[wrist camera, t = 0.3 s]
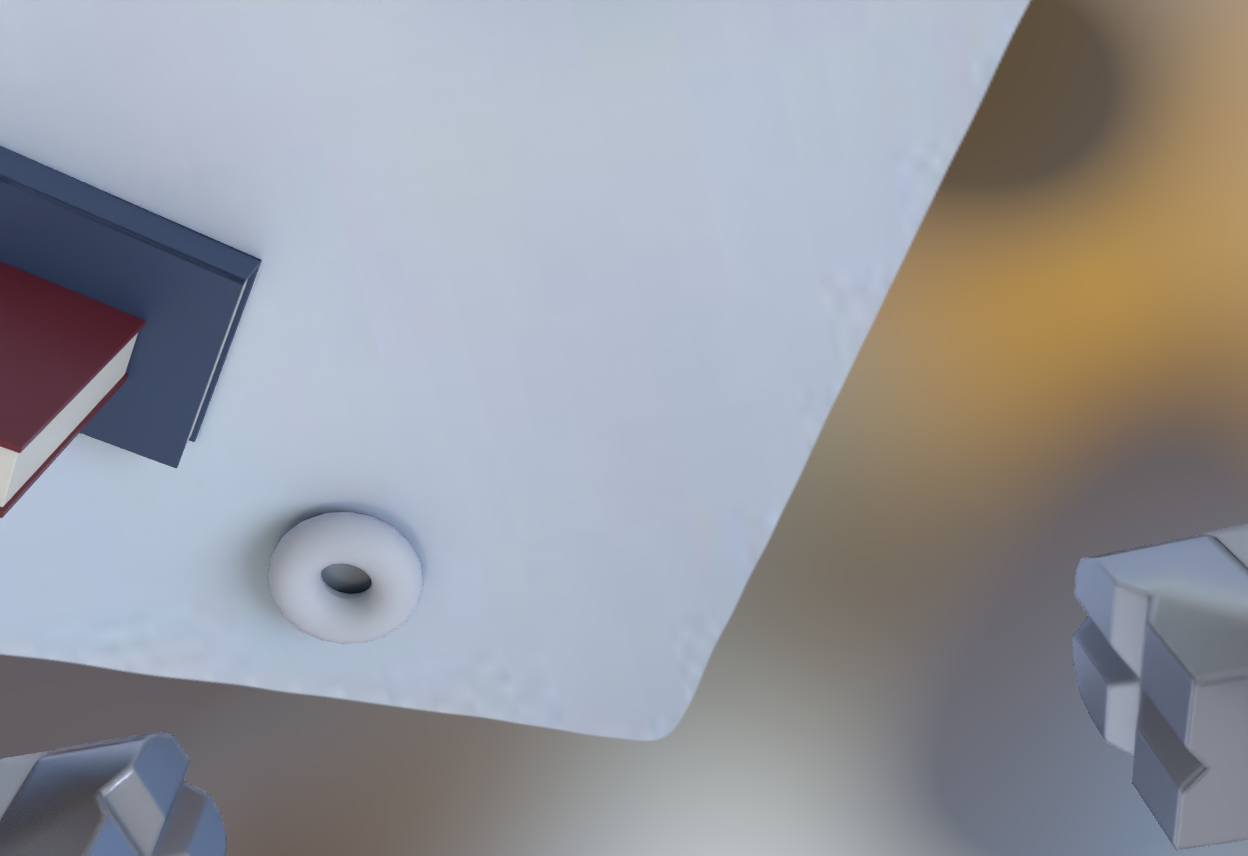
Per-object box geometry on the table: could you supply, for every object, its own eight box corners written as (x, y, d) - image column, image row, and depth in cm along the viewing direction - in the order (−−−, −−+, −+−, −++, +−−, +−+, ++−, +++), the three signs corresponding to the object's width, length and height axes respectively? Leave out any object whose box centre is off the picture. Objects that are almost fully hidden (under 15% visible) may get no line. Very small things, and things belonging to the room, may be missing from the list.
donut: (443, 606, 68) (401, 488, 63) (438, 639, 65) (394, 519, 60) (304, 631, 68) (252, 516, 64) (293, 666, 65) (237, 548, 61)
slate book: (-79, 111, 51) (-120, 124, 48) (261, 260, 56) (244, 281, 52) (-119, 320, 56) (-159, 344, 53) (195, 440, 61) (176, 468, 58)
